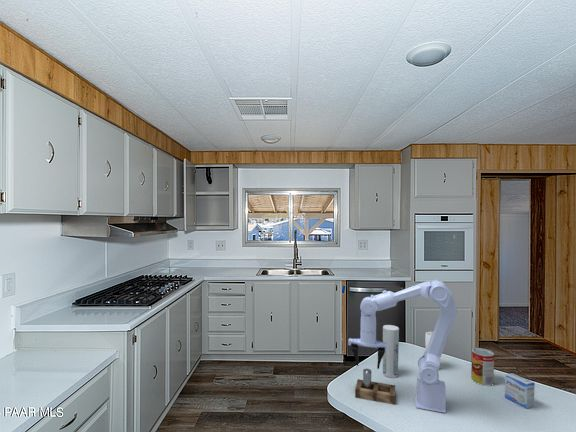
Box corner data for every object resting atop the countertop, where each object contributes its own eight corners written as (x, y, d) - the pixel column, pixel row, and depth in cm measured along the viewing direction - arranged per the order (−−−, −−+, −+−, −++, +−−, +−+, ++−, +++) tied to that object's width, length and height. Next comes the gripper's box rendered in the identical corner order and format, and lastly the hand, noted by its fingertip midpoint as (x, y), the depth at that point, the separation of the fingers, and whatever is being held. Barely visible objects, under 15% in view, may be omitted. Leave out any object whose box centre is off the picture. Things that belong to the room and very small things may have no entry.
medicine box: (504, 397, 123) (504, 374, 123) (512, 395, 125) (512, 372, 125) (526, 409, 116) (527, 384, 116) (534, 406, 118) (535, 382, 118)
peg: (370, 392, 126) (371, 368, 126) (371, 396, 123) (371, 372, 123) (362, 391, 126) (363, 368, 126) (363, 396, 123) (363, 372, 123)
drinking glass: (427, 363, 152) (427, 330, 152) (443, 367, 148) (443, 333, 148) (422, 368, 147) (423, 334, 147) (439, 373, 142) (439, 338, 142)
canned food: (481, 375, 141) (481, 347, 141) (498, 384, 133) (498, 354, 133) (466, 377, 138) (467, 349, 138) (483, 387, 131) (483, 356, 131)
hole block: (395, 393, 125) (395, 385, 125) (395, 404, 118) (395, 396, 118) (357, 386, 130) (357, 379, 130) (355, 397, 122) (355, 389, 122)
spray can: (383, 369, 145) (383, 324, 145) (398, 372, 142) (399, 326, 142) (381, 376, 139) (382, 328, 139) (397, 379, 136) (398, 330, 136)
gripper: (388, 328, 127) (388, 364, 127) (350, 324, 131) (349, 358, 131) (388, 335, 120) (387, 372, 120) (347, 330, 124) (347, 366, 124)
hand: (367, 366), depth 125 cm, fingers open, 7 cm apart
